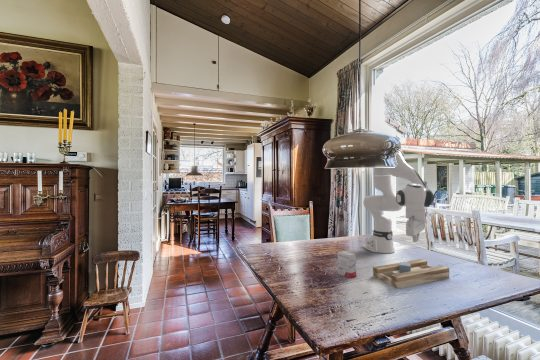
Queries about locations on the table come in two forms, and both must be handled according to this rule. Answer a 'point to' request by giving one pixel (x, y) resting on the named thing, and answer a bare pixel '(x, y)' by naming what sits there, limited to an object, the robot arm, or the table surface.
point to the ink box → (346, 264)
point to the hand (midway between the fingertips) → (415, 241)
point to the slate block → (404, 267)
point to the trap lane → (410, 282)
